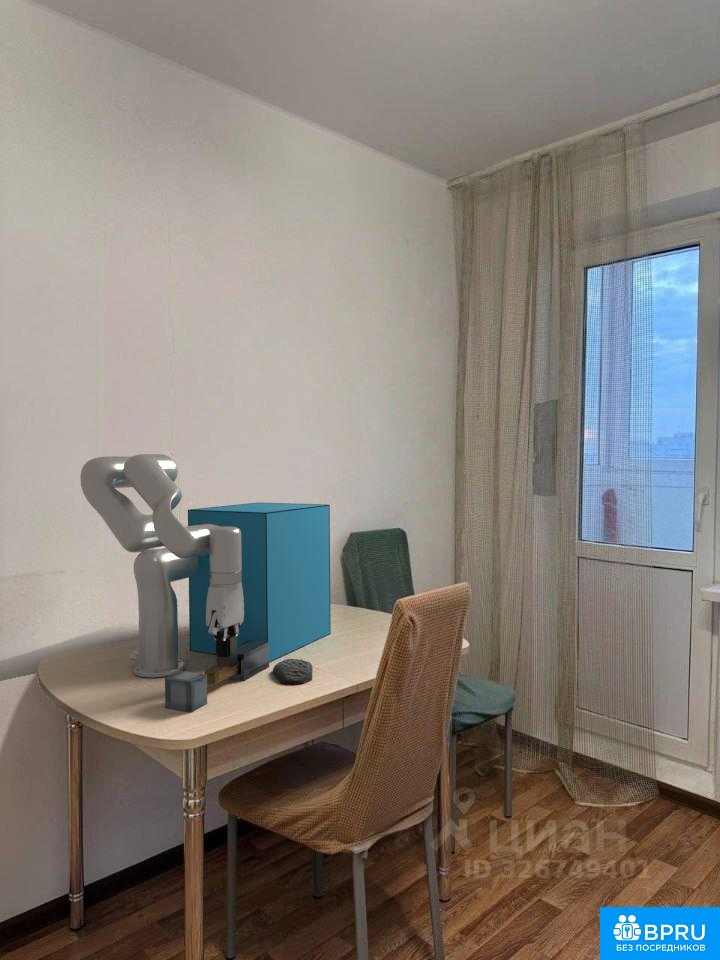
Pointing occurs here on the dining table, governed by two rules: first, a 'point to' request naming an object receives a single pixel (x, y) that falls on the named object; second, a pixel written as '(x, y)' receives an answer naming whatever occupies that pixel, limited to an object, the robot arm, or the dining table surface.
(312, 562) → the box
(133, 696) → the dining table surface
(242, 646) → the sleeve
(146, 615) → the robot arm
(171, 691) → the socket
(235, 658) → the tan bar piece
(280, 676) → the fossil
